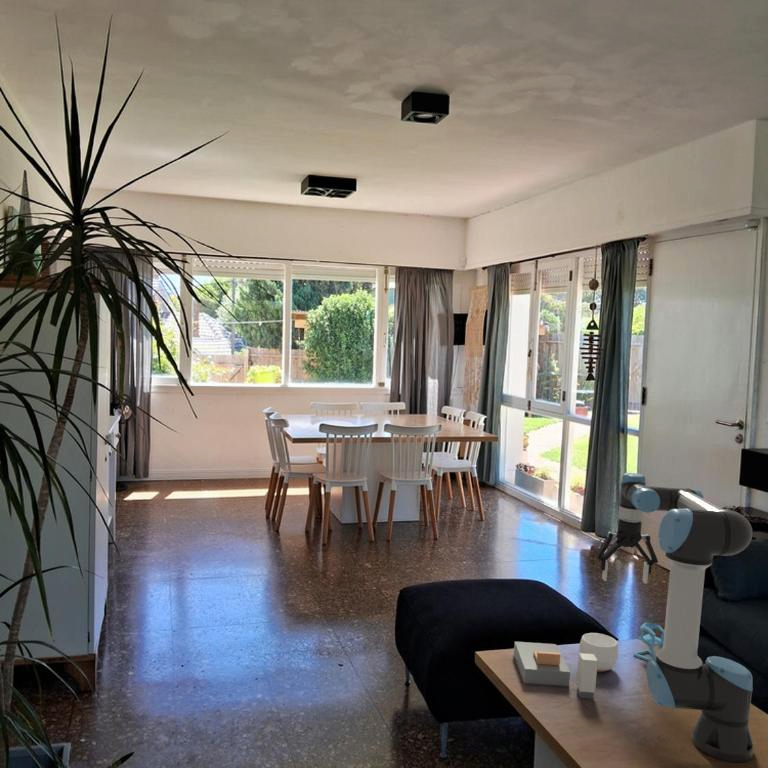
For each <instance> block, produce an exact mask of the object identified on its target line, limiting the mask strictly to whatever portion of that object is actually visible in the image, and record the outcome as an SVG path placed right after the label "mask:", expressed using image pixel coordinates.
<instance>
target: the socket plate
mask: <svg viewBox="0 0 768 768" xmlns="http://www.w3.org/2000/svg"><path fill="white" fill-rule="evenodd" d="M534 651H545V652H559V653H560V665H548V664H537V661H536V659H535V657H534V654H533V652H534ZM513 658H514V661H515V665H516V666H517V669H518V672H519V674H520V678H521V680H522V683H523V685H527V686H540V685H545V686H546V687H555V686H559V687H558V688H570V678H571V677H570V676H571V671H570V669H569V667H568V664H567V663H566V662H565V658H564V657H563V655H562V654H561V651H560V649H559V648H558V645H557V644H556V643H555V644H554V643H542V642H527V641H525V642H524V641H514V646H513Z"/></svg>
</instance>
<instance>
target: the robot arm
mask: <svg viewBox="0 0 768 768" xmlns="http://www.w3.org/2000/svg"><path fill="white" fill-rule="evenodd" d="M656 511H658V512H659V511H660V512H666V513H665V514H664V515H663V517H662V520H661V521H660V525H659V530H658V543H659V547H660V549H661V550H662V551H663V552H665V558H666V559H667V560H668V561H669V562H670V565H669V566H670V568H669V578H668V586H667V587H668V588H667V590H668V591H667V599H666V612H665V620H664V621H665V622H664V637H663V639H664V641H663V648H661V649H660V650H659V649H658V650H657V651H656V654H655V655H656V660H655V661H654V660H651V661H647V664H646V673H645V674H646V681H647V685H648V689H649V693H650V695H651V698H652V699H653V701H654V703H655V704H657V705H658V707H659V706H660V707H662V708H671V709H672V710H673V709H680V710H681V709H683V710H695V711H697V710H698V711H699V710H700V711H701V712H700V714H699V716H698V718H697V720H696V722H695V725H694V726H693V728H692V732H691V733H692V734H691V741H692V743H693V744H694V745H695V747H697V749H699V750H700V751H702V752H703V753H705V754H706V755H708V756H710V757H712V758H715V759H717V760H718V759H719V760H721V761H725V762H730V763H744V762H748V761H750V760H751V759H752V758H753V755H754V744H753V739H752V736H751V731H750V726H749V720H750V713H751V712H750V711H751V702H752V695H753V694H752V693H753V690H754V688H753V675H752V673H751V671H750V670H749V669H747V667H745V666H744V665H742V664H740V663H738V662H736V661H734V660H731V659H729V658H725V657H722V656H717V655H713V656H712V655H711V656H708V657H706V659H705V663H703V661H702V658H700V656H698V648H699V637H700V636H699V635H700V625H701V616H702V608H703V607H702V605H703V596H704V595H703V594H704V586H705V585H704V584H705V576H706V575H705V574H706V569H708V568H709V567H710V566H712V564H713V558H714V556H726V557H727V556H728V557H729V556H734V555H737V554H739V553H741V552H742V551H744V550H746V548H748V546H749V545H750V544H751V541H752V538H753V528H752V525H751V523H750V521H749V520H748V519H747V518H746V516H744V515H743V514H741V513H739V512H737V511H735V510H732V509H725V508H724V509H723V508H722V507H720V506H718V505H716V504H714V503H713V502H711V501H709V500H706V499H705V498H704V495H703V494H702V491H701V490H699V489H693V488H676V487H674V488H673V487H665V486H664V487H662V486H661V487H660V486H647V482H646V476H645V475H644V474H640V473H635V472H625V473H623V474H622V476H621V482H620V494H619V506H618V520H617V527H616V529H617V530H616V532H612V531H610V530H608V531H607V532H606V537H605V539H604V540H603V542H602V544H601V545H600V547H599V548H598V549H597V552H596V553H595V558H596V559H598V560H600V564H599V566H600V570H601V571H602V574H601V575H602V576H601V579H602V580H603V581H604V582H607V580H608V570H609V569H608V568H609V561H608V560H609V558H611V557H612V556H613V554H615V552H616V551H618V550H619V549H621V547H623V548H631V549H632V548H633V549H634V548H636V549H637V551H638V552H639V553H640V554H641V556H642V557H643V559H644V562H643V570H642V580H641V581H642V582H643V584H645V585H648V581H649V575H651V573H652V568H653V567H652V566H653V565H654V564H658V563H659V559H658V558H657V555H656V552H655V551H654V548H653V546H652V543H651V536H650V534H648V533H644V534H642V520H643V513H646V514H647V513H648V514H649V513H654V512H656ZM614 538H616V540H615V541H614V542H613V543H612V541H613V540H614ZM641 540H642V541H643V542H644V543H645V546H646V549H647V552H648V553H649V556H650V557H649V556H648V553H646V551H645V550H644V549H643V547H642V546H641V544H640V541H641ZM611 543H612V545H611V546H610V544H611ZM609 546H610V547H609ZM645 561H646V562H645Z"/></svg>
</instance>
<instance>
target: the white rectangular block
mask: <svg viewBox="0 0 768 768" xmlns="http://www.w3.org/2000/svg"><path fill="white" fill-rule="evenodd" d="M597 663H598V660H597V659H596V657H595V655H594V654H585V653H580V652H579V653H578V660H577V671H576V673H577V675H576V682H575V683H576V687H577V688H576V693H577V694H578V697H579V698H581V699H594V696H595V693H596V687H597V686H596V683H597V673H598V672H597Z"/></svg>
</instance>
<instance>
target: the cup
mask: <svg viewBox="0 0 768 768" xmlns="http://www.w3.org/2000/svg"><path fill="white" fill-rule="evenodd" d="M578 652H579V653H585V654H594V655H595V657H596V659H597V660H598V663H597V673H603V672H606V671H609V670H611V669H612V668H614V667H615V665H616V663H617V660H618V659H619V658H618V657H619V656H618V655H619V645H618V641H617V640H616V639H615V638H614V637H612V636H610V635H606V634H604V633H598V632H589V633H584V634H583V635H581V639H580V642H579V651H578Z"/></svg>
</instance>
